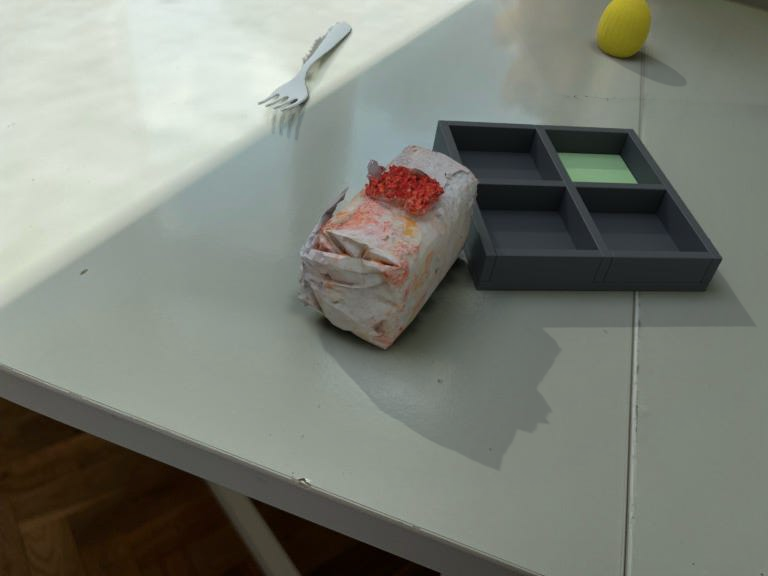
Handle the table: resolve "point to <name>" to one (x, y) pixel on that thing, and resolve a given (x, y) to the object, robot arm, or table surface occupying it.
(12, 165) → the table surface
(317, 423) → the table surface
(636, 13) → the lemon
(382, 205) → the food item
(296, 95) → the fork
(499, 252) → the dark grey compartment tray
